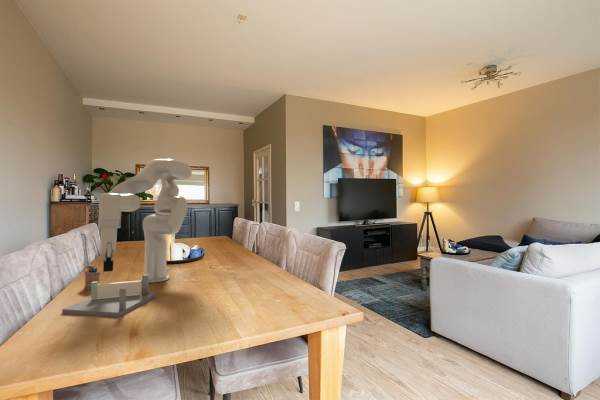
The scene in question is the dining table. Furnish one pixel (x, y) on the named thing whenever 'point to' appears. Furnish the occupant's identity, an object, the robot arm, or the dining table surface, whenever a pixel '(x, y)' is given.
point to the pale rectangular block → (114, 289)
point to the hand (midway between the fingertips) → (108, 270)
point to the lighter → (91, 276)
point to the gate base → (112, 303)
